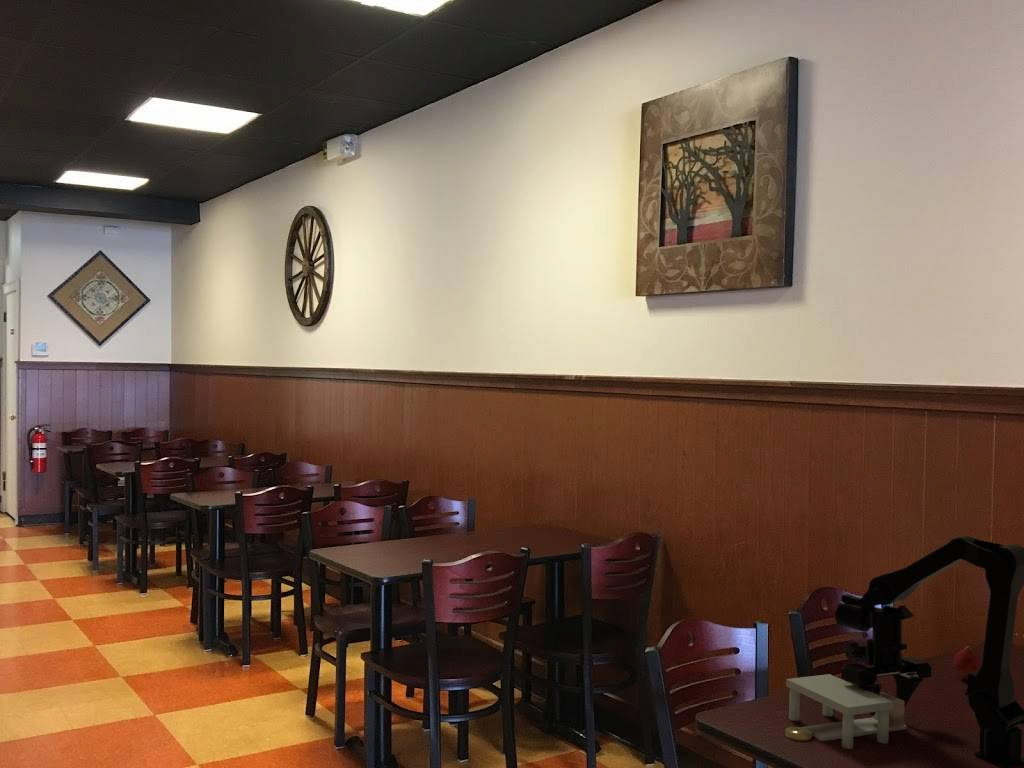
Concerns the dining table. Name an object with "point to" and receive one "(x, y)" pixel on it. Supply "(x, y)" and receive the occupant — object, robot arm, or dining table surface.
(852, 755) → the dining table surface
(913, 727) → the dining table surface
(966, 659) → the onion
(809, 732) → the token
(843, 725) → the miniature white bench
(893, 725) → the scraper
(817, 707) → the dining table surface
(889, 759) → the dining table surface
